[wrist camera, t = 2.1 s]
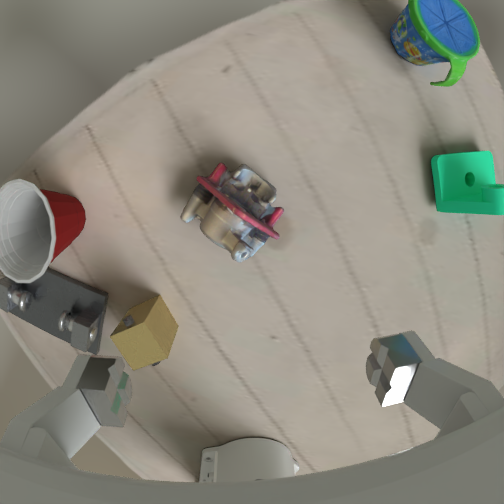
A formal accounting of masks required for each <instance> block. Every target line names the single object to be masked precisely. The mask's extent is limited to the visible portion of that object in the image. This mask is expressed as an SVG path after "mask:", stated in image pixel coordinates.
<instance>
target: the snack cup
mask: <svg viewBox="0 0 504 504" xmlns="http://www.w3.org/2000/svg"><path fill="white" fill-rule="evenodd" d="M390 33H391V36H390V37H391V40H392V43H393V45H394V46H395V49H396V51H397V53H398V54H399V55H401V56H402V57H403V58H405V59H406V60H407V61H409V62H411V63H413V64H415V65H419V66H425V65H431V64H436V63H440V62H441V63H442V62H450V64H451V69H450V71H449V73H448V75H447V77H446V79H445V81H440V82H431V83H430V84H431V85H435V86H452V85H453V84H455V83H456V82H457V81H458V80H459V79H460V78H461V77H462V75H463V73H464V71H465V69H466V64H467V61H468V60H469V59H471V58H473V57H474V56H476V54H477V53H478V51H479V46H480V38H479V34H478V30H477V27H476V25H475V22H474V20H473V19H472V17H471V15H470V14H469V13H468V11H467V10H466V9H465V7H464V6H463V5H462V4H461V3H460V2H459V1H458V0H408V5H407V6H406V8H405V9H404V10H403V11H402V13H401V14H400V15H399V17H398V18H397V19H396V21H395V23H394V24H393V26H392V27H391V30H390Z"/></svg>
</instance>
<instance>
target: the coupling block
mask: <svg viewBox="0 0 504 504" xmlns="http://www.w3.org/2000/svg"><path fill="white" fill-rule="evenodd" d="M177 329H178V324H177V323H176V321H175V319H174V318H173V316H172V314H171V313H170V311H169V309H168V308H167V306H166V304H165V302H164V301H163V299H162V297H161V296H160V295H159V296H156V297H154V298H152V299H150V300H148V301H145V302H143V303H141V304H139V305H137V306H135V307H132V308H130V309H129V311H128V312H127V313H126V315H125V316H124V318H123V319H122V320H121V322H120V323H119V325H118V326H117V327H116V329H115V330H114V332H113V333H112V334H111V336H110V338H111V339H112V341H113V342H114V344H115V345H116V347H117V348H118V350H119V351H120V352H121V354H122V355H123V357H124V358H125V360H126V361H127V362H128V364H129V365H130V367H131V368H132V369H133V370H136V369H139V368H142V367H145V366H147V365H150V364H152V366H155V365H157V364H159V363H160V361H161V360H164V359H167V358H168V356H169V353H170V350H171V347H172V344H173V341H174V338H175V335H176V332H177Z"/></svg>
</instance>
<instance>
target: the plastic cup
mask: <svg viewBox="0 0 504 504" xmlns="http://www.w3.org/2000/svg"><path fill="white" fill-rule="evenodd" d="M85 220H86V218H85V210H84V208H83V206H82V204H81V203H80V202H79V201H78V200H77V199H76V198H75V197H72V196H70V195H66V194H60V193H58V192H53V191H47V190H42V189H39V188H38V187H37V186H36V185H35V184H33V183H30V182H28V181H25V180H23V179H16V180H12V181H8V182H6V183H5V184H4V185H3V186H2V187H1V188H0V270H1V271H2V272H3V273H4V275H5V276H7V277H8V278H10V279H12V280H13V281H15V282H17V283H31V282H33V281H34V280H36V279H38V278H39V277H41V276H42V275H43V274H44V273H45V271H46V269H47V267H48V266H49V264H50V263H51V262H52V261H53V260H54V259H55V258H56V257H57V256H58V255H59V254H60V253H61V252H62V251H63V250H64V249H65V248H67V247H68V246H69V245H70V244H71V243H72V241H73V240H74V239H75V238H76V237H78V236H79V234H80V233H81V231H82V230H83V228H84V224H85Z"/></svg>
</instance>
